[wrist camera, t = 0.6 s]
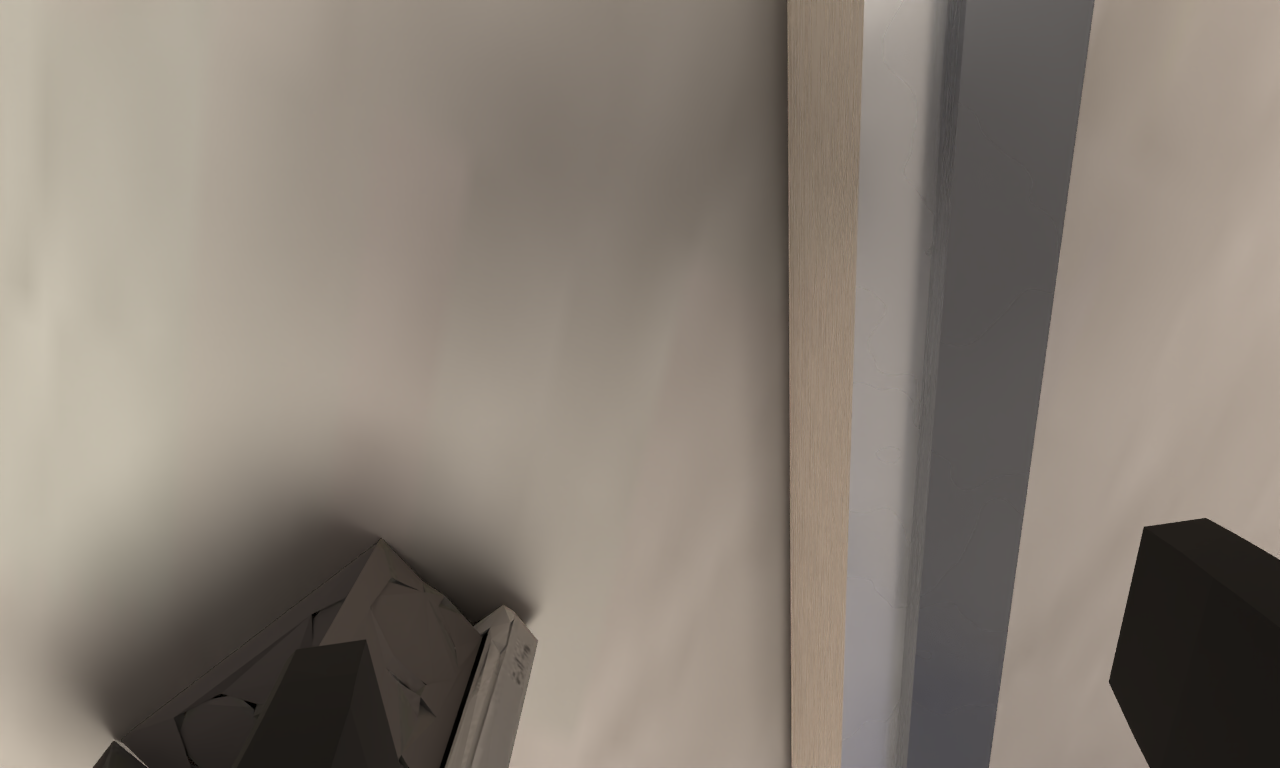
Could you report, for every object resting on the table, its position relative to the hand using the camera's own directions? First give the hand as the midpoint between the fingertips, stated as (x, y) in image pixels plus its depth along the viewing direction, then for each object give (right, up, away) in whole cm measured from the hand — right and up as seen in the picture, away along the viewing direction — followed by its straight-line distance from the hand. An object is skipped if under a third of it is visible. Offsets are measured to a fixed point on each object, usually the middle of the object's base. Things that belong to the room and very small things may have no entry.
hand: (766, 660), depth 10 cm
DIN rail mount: (+3, +2, +11) cm, 12 cm away
